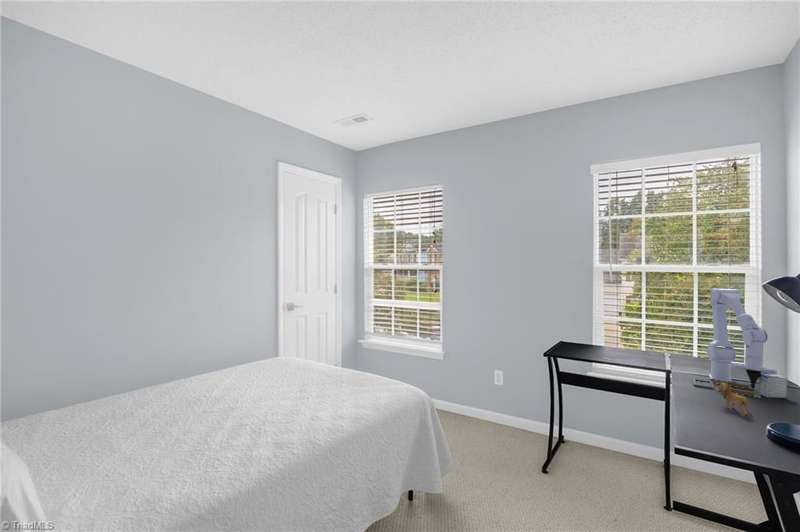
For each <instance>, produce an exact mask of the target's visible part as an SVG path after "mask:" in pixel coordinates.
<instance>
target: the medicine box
mask: <svg viewBox="0 0 800 532" xmlns="http://www.w3.org/2000/svg"><path fill="white" fill-rule="evenodd" d="M758 379H759V380H758V390H757V391H759V392H761V395H760V396H764V397H765V398H779V399H780V398H782V399H786V398H787V391H788V378H787V377H785V376H782V375H779V374H777V375H775V374H770V373H761V375H760V377H759V378H758Z"/></svg>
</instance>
